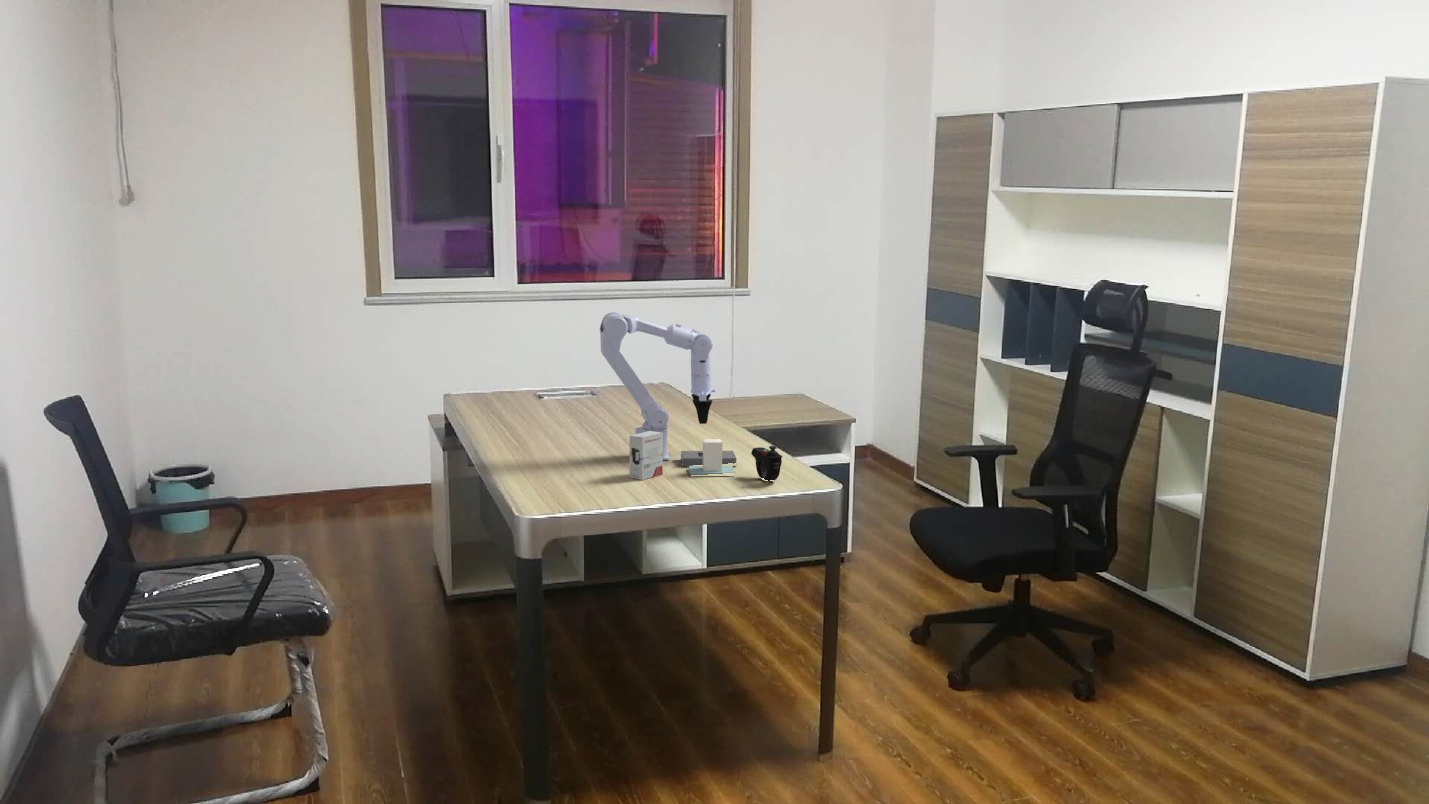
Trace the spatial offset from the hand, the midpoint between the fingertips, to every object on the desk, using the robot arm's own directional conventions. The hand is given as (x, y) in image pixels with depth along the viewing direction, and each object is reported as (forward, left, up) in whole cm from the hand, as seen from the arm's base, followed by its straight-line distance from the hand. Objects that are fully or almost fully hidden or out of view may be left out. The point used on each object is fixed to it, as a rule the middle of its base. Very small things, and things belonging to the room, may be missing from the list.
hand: (702, 420), depth 318 cm
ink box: (-17, -23, -11) cm, 30 cm away
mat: (+1, -20, -10) cm, 23 cm away
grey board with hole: (+1, -9, -10) cm, 14 cm away
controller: (+15, -28, -11) cm, 33 cm away
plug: (+1, -20, -9) cm, 22 cm away
